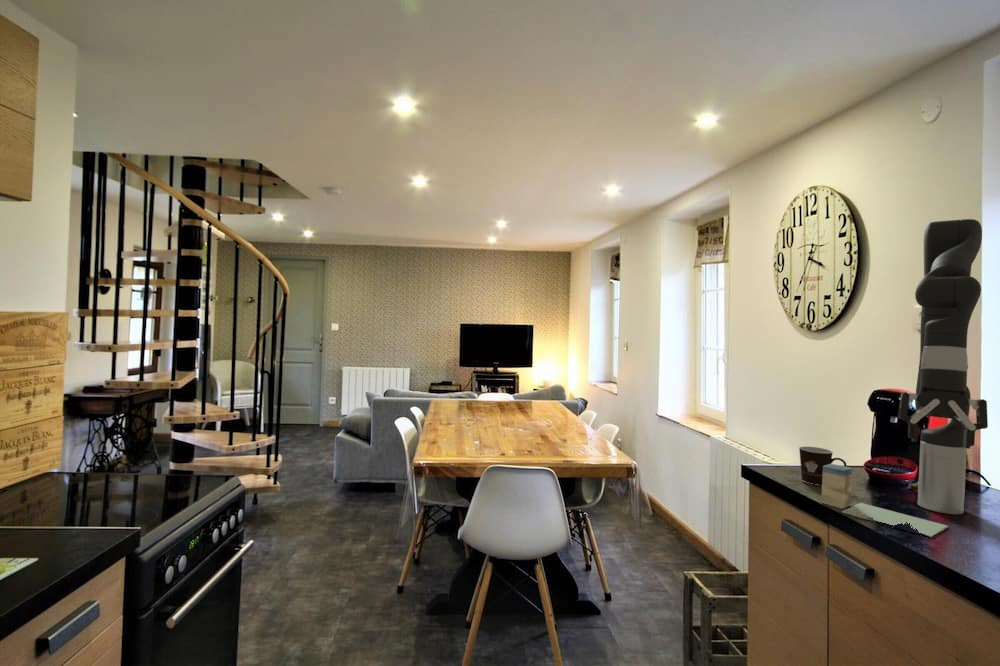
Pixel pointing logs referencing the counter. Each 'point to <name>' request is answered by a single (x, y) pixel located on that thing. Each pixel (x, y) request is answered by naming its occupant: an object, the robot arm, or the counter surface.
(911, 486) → the wrapped sandwich
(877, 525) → the counter surface
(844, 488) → the maple block
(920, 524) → the green mat
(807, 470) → the coffee mug
